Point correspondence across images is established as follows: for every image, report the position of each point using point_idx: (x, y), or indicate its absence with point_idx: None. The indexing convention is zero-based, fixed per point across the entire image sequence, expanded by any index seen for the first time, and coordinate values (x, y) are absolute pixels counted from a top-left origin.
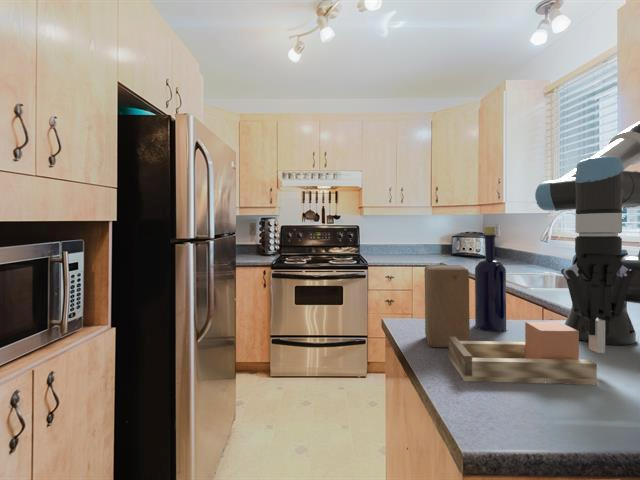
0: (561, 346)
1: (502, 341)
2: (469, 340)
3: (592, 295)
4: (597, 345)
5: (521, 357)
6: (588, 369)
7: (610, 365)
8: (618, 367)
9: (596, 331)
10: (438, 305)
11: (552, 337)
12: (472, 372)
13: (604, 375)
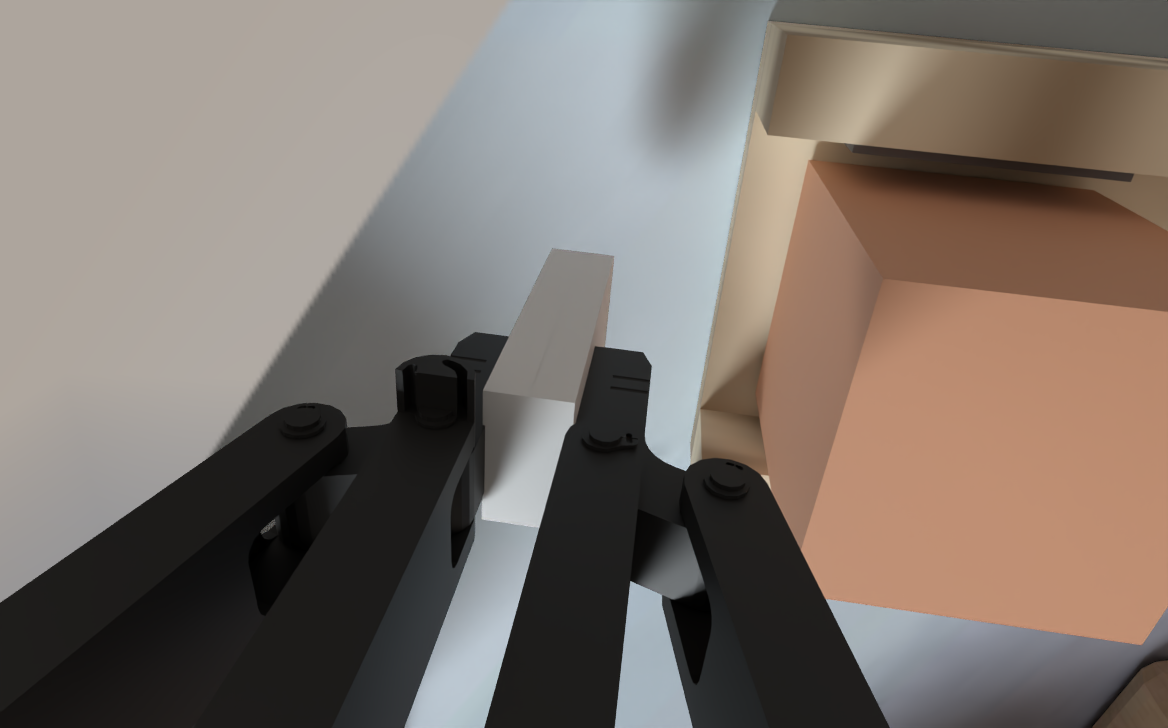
0: (1010, 239)
1: None
2: (1164, 707)
3: (584, 701)
4: (603, 281)
5: None
6: (847, 35)
7: (434, 340)
8: (407, 307)
9: (592, 347)
10: None
11: (1154, 283)
12: None
13: (586, 187)
